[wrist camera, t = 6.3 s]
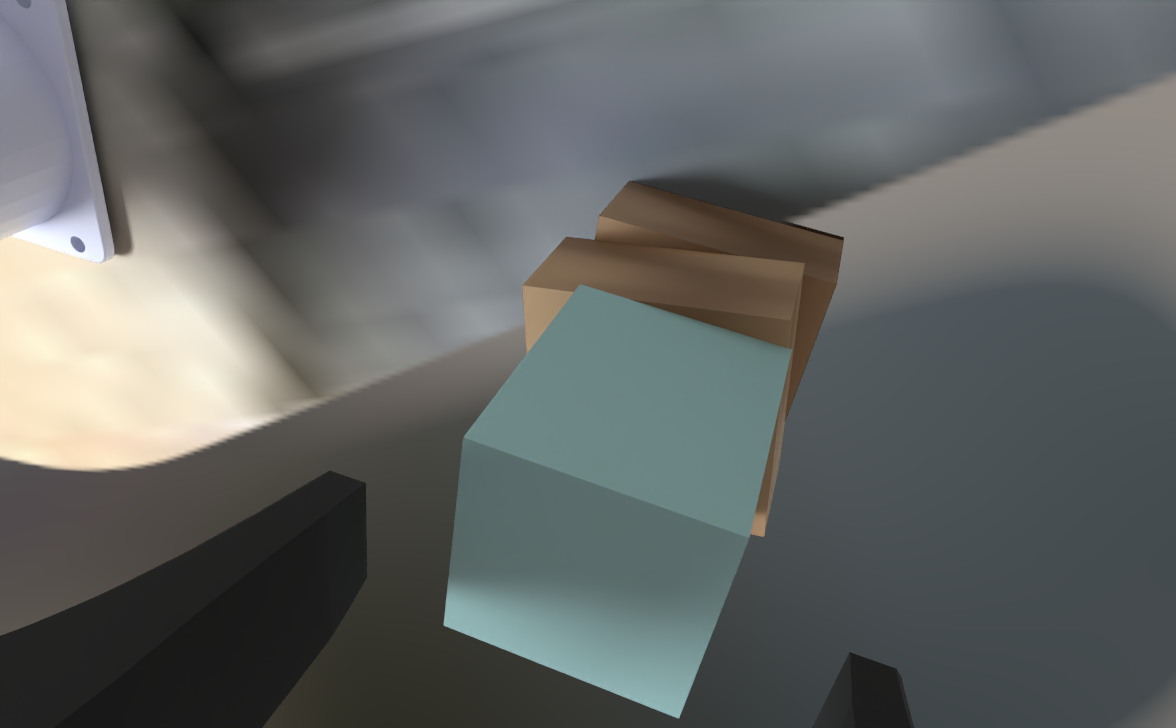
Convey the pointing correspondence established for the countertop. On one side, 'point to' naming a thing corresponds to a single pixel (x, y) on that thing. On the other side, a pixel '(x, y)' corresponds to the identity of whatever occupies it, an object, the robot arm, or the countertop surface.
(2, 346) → the countertop surface
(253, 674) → the robot arm
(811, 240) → the tower base
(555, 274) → the tower top
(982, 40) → the countertop surface
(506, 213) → the countertop surface
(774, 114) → the countertop surface
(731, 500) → the teal block
